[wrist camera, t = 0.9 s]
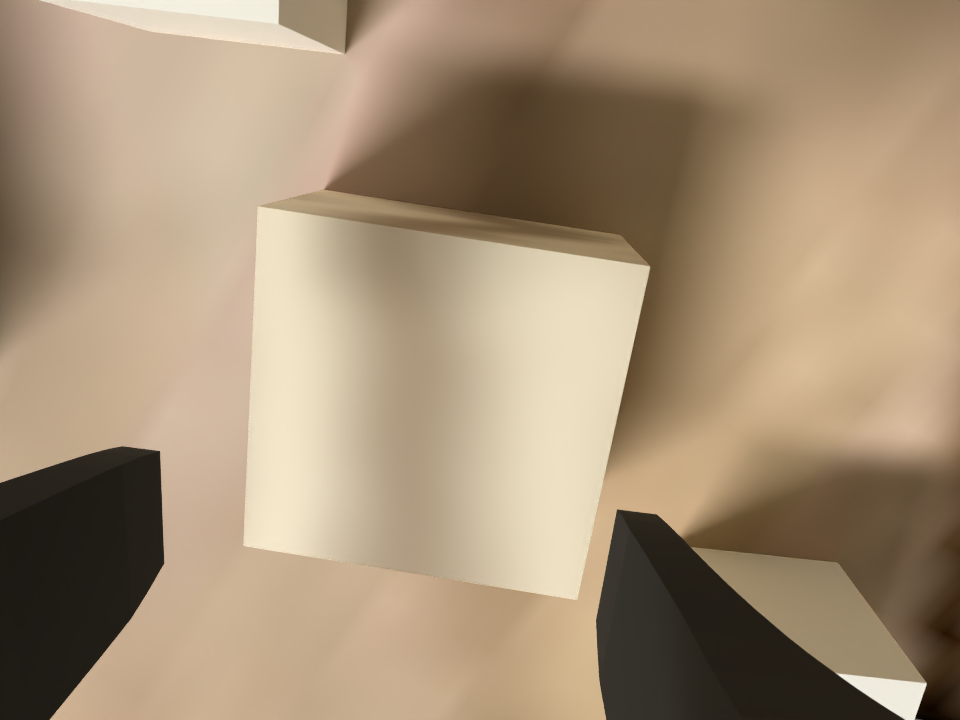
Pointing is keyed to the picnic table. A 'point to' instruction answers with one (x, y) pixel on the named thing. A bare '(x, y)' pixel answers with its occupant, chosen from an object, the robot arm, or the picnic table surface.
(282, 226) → the plain block
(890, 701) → the white marked cube
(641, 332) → the picnic table surface
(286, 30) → the numbered cube seven
